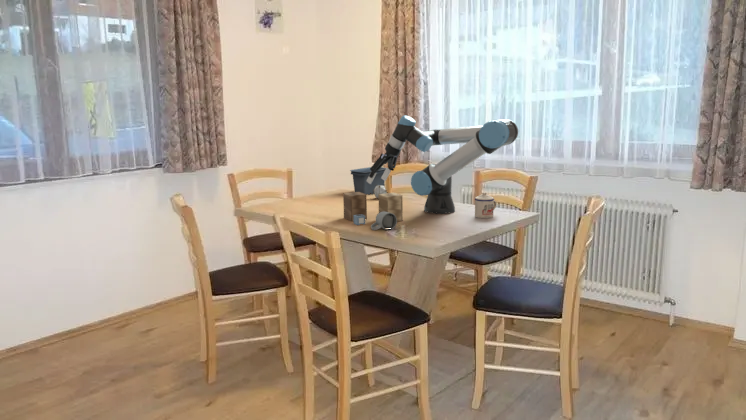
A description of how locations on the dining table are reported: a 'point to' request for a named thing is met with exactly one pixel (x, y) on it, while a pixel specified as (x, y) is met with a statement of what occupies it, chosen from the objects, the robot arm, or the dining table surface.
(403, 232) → the dining table surface
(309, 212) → the dining table surface
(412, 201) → the dining table surface
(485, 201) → the teacup with lid
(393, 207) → the oak cover
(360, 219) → the letter cube
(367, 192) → the storage bin
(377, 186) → the grey rounded piece
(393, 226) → the ceramic mug
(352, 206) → the walnut cover
